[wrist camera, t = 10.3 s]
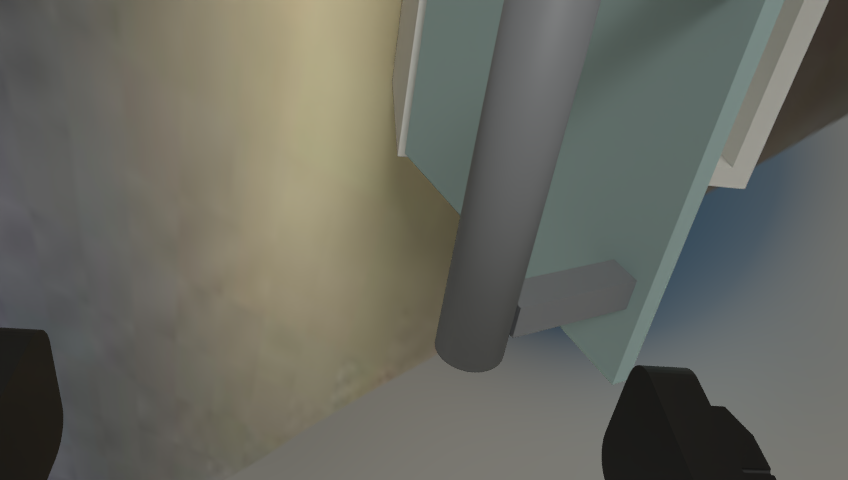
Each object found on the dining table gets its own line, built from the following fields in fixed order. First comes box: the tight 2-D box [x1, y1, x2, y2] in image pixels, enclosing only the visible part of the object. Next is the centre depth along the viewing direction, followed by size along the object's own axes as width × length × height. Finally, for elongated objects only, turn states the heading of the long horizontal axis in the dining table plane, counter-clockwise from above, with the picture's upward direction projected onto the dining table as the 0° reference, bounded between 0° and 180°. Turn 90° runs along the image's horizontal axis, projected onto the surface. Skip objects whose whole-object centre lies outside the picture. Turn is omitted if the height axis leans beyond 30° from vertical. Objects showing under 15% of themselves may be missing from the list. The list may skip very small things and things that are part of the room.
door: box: [405, 0, 785, 385], centre depth 22 cm, size 15×14×6 cm
